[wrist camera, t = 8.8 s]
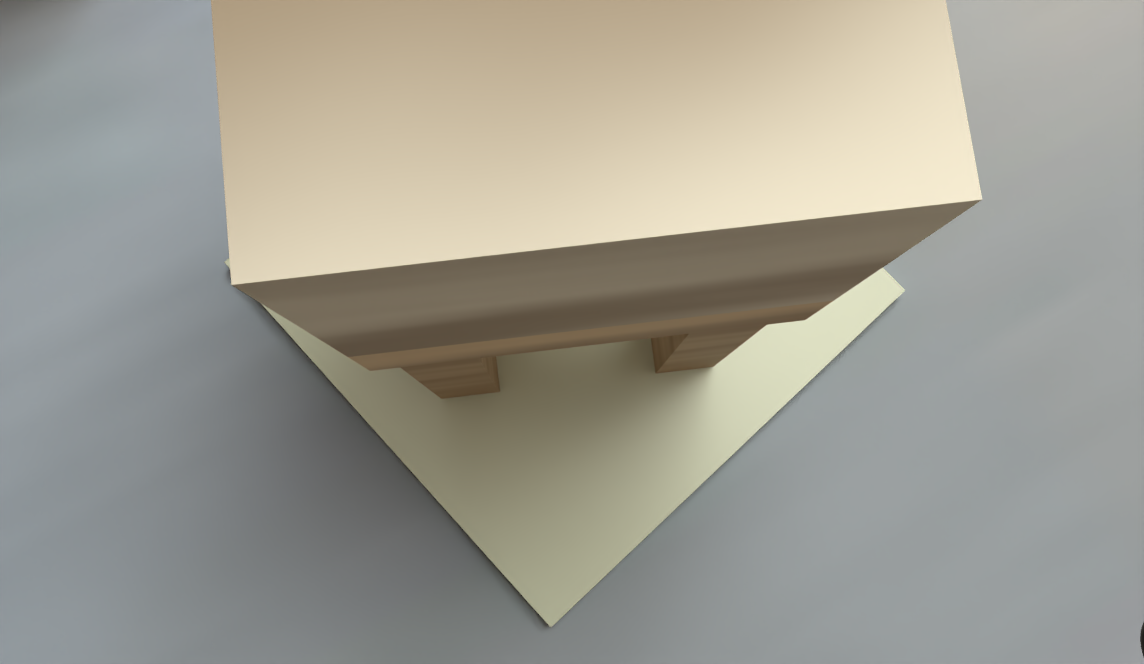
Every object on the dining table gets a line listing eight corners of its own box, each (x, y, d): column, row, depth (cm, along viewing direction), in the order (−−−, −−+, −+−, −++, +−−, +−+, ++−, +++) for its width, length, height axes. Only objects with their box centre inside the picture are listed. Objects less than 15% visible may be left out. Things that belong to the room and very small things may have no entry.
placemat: (551, 624, 21) (550, 627, 20) (230, 266, 22) (224, 261, 21) (898, 293, 22) (904, 290, 21) (578, -33, 23) (578, -42, 22)
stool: (724, 375, 21) (982, 199, 8) (432, 409, 21) (231, 286, 8) (691, 141, 22) (880, -352, 9) (408, 173, 22) (190, -286, 9)
